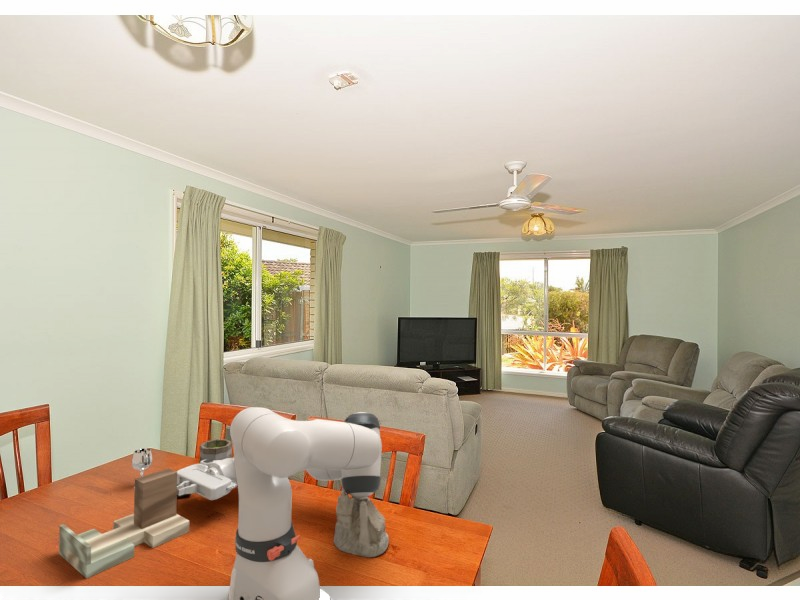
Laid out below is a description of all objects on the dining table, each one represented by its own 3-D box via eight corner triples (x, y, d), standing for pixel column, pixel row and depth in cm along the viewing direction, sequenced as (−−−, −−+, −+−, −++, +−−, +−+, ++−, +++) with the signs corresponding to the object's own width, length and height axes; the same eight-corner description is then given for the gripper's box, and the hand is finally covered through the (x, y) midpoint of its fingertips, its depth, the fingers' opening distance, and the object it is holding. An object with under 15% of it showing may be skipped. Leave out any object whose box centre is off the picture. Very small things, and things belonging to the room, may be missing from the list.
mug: (231, 481, 148) (232, 447, 148) (197, 486, 144) (198, 450, 144) (231, 465, 162) (232, 433, 162) (200, 468, 158) (201, 436, 158)
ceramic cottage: (374, 562, 104) (371, 502, 103) (321, 545, 112) (319, 489, 111) (404, 529, 117) (402, 476, 117) (355, 516, 125) (353, 466, 125)
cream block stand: (189, 531, 116) (189, 506, 116) (86, 578, 96) (87, 547, 96) (158, 514, 125) (159, 490, 125) (58, 553, 105) (59, 525, 105)
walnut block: (176, 515, 119) (177, 472, 119) (142, 529, 111) (143, 483, 111) (167, 510, 121) (168, 468, 121) (133, 523, 114) (134, 479, 114)
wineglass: (127, 488, 141) (128, 452, 141) (142, 481, 146) (143, 446, 146) (140, 491, 139) (141, 454, 139) (155, 484, 144) (156, 449, 144)
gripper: (240, 494, 127) (196, 513, 115) (201, 477, 138) (157, 493, 126) (241, 473, 127) (197, 490, 115) (201, 458, 138) (158, 472, 126)
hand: (176, 491), depth 121 cm, fingers closed
